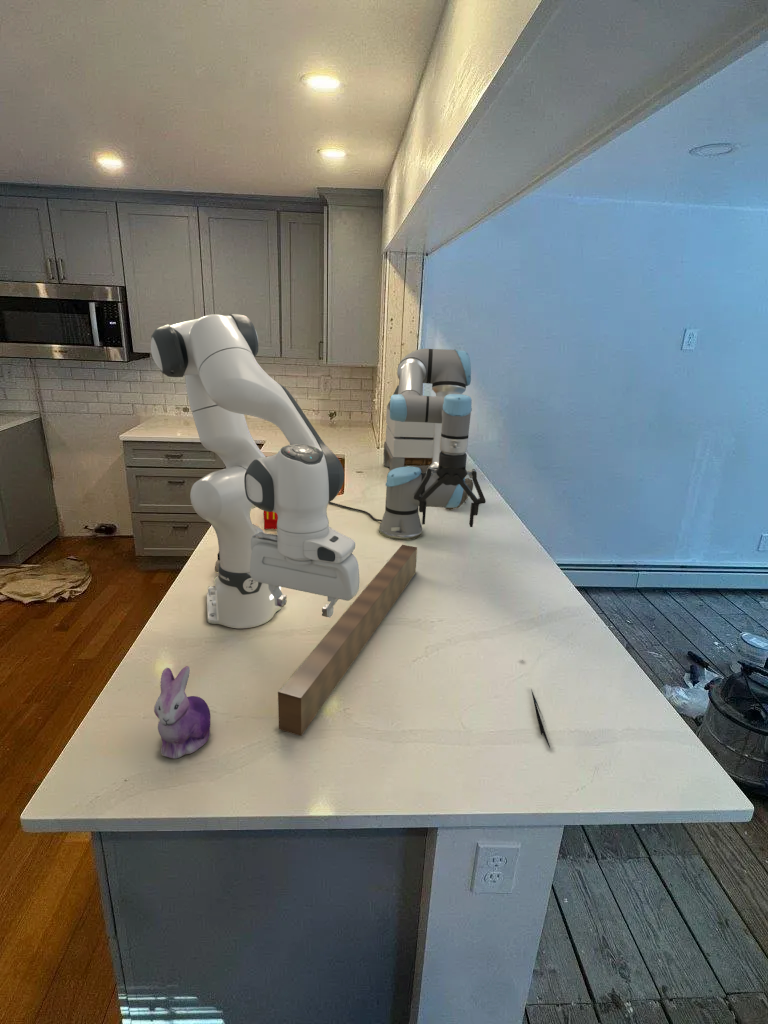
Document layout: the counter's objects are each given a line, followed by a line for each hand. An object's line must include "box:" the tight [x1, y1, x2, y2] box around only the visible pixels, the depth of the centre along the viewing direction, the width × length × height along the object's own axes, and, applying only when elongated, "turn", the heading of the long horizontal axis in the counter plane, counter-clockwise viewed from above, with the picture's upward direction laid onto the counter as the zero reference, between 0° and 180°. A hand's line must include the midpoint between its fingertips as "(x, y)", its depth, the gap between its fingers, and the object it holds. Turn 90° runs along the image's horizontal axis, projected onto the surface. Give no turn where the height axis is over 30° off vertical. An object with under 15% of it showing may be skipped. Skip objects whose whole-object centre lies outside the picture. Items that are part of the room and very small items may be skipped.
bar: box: [277, 544, 418, 737], centre depth 137 cm, size 75×5×8 cm, turn 161°
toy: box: [263, 510, 278, 530], centre depth 210 cm, size 12×13×30 cm
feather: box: [521, 660, 551, 748], centre depth 116 cm, size 2×28×2 cm
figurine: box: [153, 665, 211, 759], centre depth 99 cm, size 9×10×15 cm
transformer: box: [383, 384, 434, 472], centre depth 268 cm, size 34×33×41 cm
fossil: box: [444, 477, 474, 511], centre depth 233 cm, size 22×10×15 cm
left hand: (303, 610), depth 103 cm, fingers open, 8 cm apart
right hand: (447, 524), depth 163 cm, fingers open, 13 cm apart
